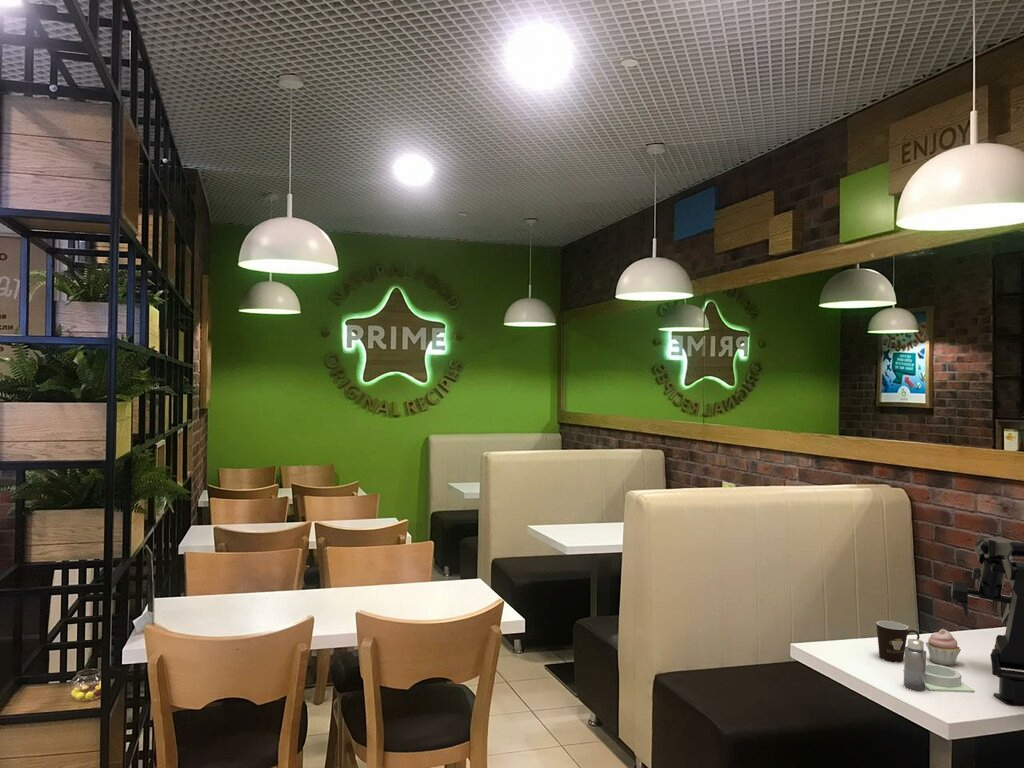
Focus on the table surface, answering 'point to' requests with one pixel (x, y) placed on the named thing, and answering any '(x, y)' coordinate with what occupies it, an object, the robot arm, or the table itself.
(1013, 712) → the table surface
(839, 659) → the table surface
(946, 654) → the cupcake
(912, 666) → the metal bottle
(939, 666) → the ring plate
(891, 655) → the coffee mug
